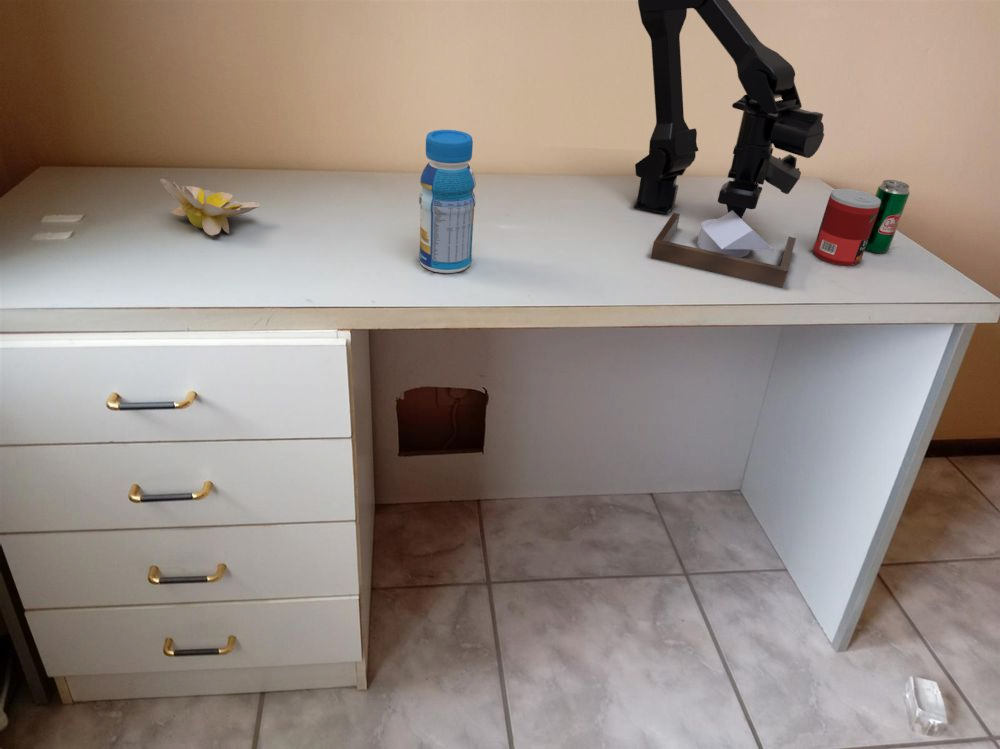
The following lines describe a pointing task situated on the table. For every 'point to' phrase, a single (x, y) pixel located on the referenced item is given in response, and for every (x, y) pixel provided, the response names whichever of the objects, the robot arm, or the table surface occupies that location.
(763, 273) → the bay
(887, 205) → the soda can
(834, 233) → the canned food
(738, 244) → the wedge on round base
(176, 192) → the decorative flower
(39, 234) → the table surface
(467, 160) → the beverage bottle
